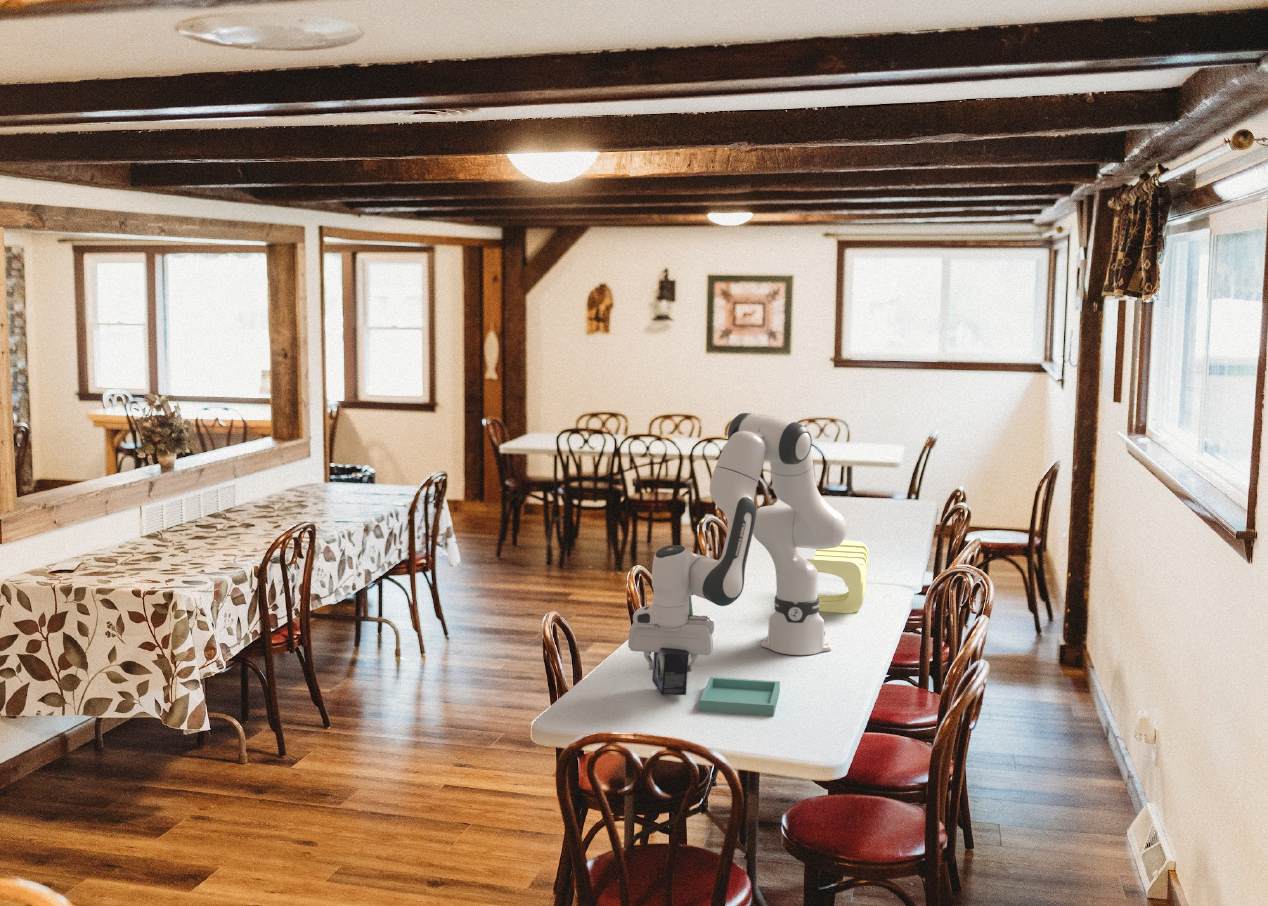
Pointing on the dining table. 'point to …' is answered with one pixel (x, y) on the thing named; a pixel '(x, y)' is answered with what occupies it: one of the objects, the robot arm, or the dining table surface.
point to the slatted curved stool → (843, 575)
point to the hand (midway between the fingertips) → (670, 670)
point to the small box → (671, 671)
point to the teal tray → (740, 696)
